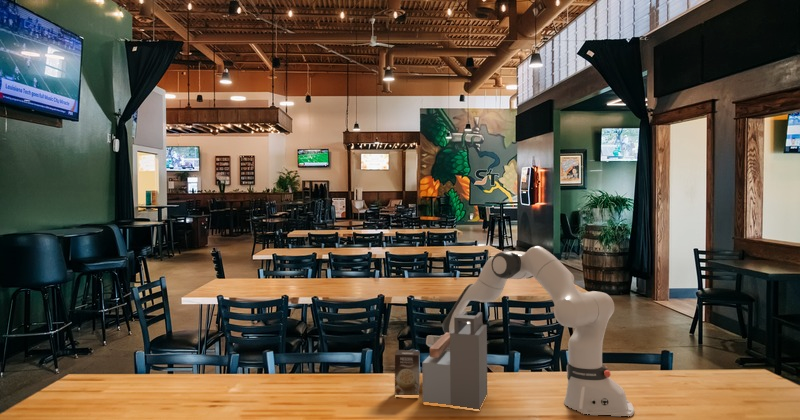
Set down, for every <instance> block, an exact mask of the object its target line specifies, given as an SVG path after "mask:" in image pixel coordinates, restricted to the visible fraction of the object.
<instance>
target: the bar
mask: <svg viewBox="0 0 800 420" xmlns="http://www.w3.org/2000/svg"><path fill="white" fill-rule="evenodd" d="M442 335H443V336H442V337H441V338H440V339H439V340H438V341H437V342H436V343H435V344H434V345H433V346H432V347H429V355H430V357H437V358H438V357H439V356H440V355H441V354H442V353H443V352H444V351H445V350H446V348H447V347H448V346H449V345H450V333H447V332H446V333H444V334H442Z"/></svg>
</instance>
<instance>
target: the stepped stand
mask: <svg viewBox="0 0 800 420" xmlns="http://www.w3.org/2000/svg"><path fill="white" fill-rule="evenodd" d="M467 321H469V322H470V324H467ZM487 327H488V325H487V324H483V312H481V311H479V312H477V314H476V315H471V314H469V315H468V311H466V310H464V311H463V313H462V314H461V315H457V316H455V317H454V330H453V331H452V332H451V333H450V352H448V351H444V352H443V353H442V354H441V355H440V356H439V357H438V358H437V357H430V354H429V355H428V356H427V357H426V358H425V359H424V360H423V361H422V368H421V371H422V375H421V376H422V403H423V402H429V403H438V404H446V405H453V406H460V407H467V408H473V409H479V410H480V407H481V405H482V403H483V401H484V399H485V397H486V395H487V396H488V343H487V342H488V340H487V339H488V334H487V333H488V332H487V331H488V330H487V329H488V328H487ZM486 398H487V397H486ZM485 400H486V399H485ZM484 402H485V401H484ZM480 411H481V410H480Z"/></svg>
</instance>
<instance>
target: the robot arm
mask: <svg viewBox="0 0 800 420" xmlns="http://www.w3.org/2000/svg"><path fill="white" fill-rule="evenodd" d="M531 278H534V279H535V281H537V282H538V284H539V285H541V286H542V288H543V289H544V290H545V291H546V292H547V294H548V295H549V296H550V298H551V300H552V303H553V304H554V306H553V315H554V319H555V320H556V322H558V324H559V325H560V326H563V327H566V328H574V331H573V333H572V335H571V336H570V338H569V339H568V347H567V348H568V353H567V354H568V356H567V357H568V362H567V364H566V377H567V387H566V393H565V396H564V399H563V404H564V405H565V406H566V407H567V406H568V407H567V408H569V409H571V408H572V409H571V410H574V411H576V410H577V411H576V412H578V413H580V412H581V414H582V413H583V414H582V415H584V414H587V415H586V416H598V415H611V416H610V417H621V416H628V418H629V416H630V417H632V416H633V415H634V413H635V408H634V405H633V404H632V402H630V400H627V396H626V395H627V394H626V392H625V390H624V388H623V387H622V386H621V385H620V384H618V383H617V382H615V380H613V379H612V378H611V371H610V370H609V367H608V366H607V365H604V364H603V343H604V337H605V333H606V329H607V326H608V323H609V320H610V319H611V317H612V316H613V314H614V313H615V302H614V300H613V298H612V297H611V296H610V295H609V294H608V293H606V292H602V291H595V290H592V291H587V292H582V291H580V290H579V289H578V288H577V286H576V285H575V283H574V282H575V276H574V274H573V273H572V272H571V271H570V270H569V269H568V268H567V267H566V266H565V265H564V264H563V263H562V262H561V261H560V260H559V259H558V258H557V257H556V256H555V255H554V254H552V252H550V251H549V250H548V249H545V248H544V247H542V246H541V245H535V246H532V247H530V248H529V249H527V251H519V250H509V251H507V250H503V251H500V252H497V253H496V254H494V255H493V256H491V257H489V258H488V259H487V260H486V262H485V264H484V265H483V266H482V268H481V271H480V273H479V275H478V278H477V280H476V281H475V282H474V283H469V284H468V285H467V286H466V287H465V288H464V289H463V290H462V293H461V294H460V295H459V297H458V299H457V300H456V302H455V304H454V305H453V307H452V308H451V310H450V312H449V313H448V314H447V316H446V317H445V318H444V320H443V322H442V325H441V326H442V331H443V332H444V334H445V333H446V332H447V333H451V332H452V331H453V330H454V317H455V316H457V315H461V314H462V313H463V312H464V311H465V309H466V307H467V306H468V304H469V303H470V302H471V301H474V302H480V303H490V302H495V301H497V300H498V299H499V298H500V296H501V295H502V293H503V290H504V289H505V286H506V282H507V281H508V279H509V280H523V279H531ZM467 324H470V321H467ZM444 334H441V335H432V334H431V335H427V336H426V338H425V339H426V340H425V345H426V346H427V347H429V348H431V347H432V346H433V345H434V344H435V343H436V342H437V341H438V340H439V339H440V338H441V337H442V336H443V335H444ZM445 351H448V352H450V345H449V346H448V347H447V348H446V350H445ZM588 414H590V415H588Z"/></svg>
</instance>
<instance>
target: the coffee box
mask: <svg viewBox="0 0 800 420" xmlns="http://www.w3.org/2000/svg"><path fill="white" fill-rule="evenodd" d="M420 353H421V352H420V350H407V349H406V350H405V349H396V350H395V351H394V396H395V395H419V396H420V394H419V390H420V389H421V388H420V387H421V386H420V384H421V383H420V382H421V381H420V378H421V377H420V370H421V367H420V365H421V364H420V363H421V360H420V359H421V357H420Z"/></svg>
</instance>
